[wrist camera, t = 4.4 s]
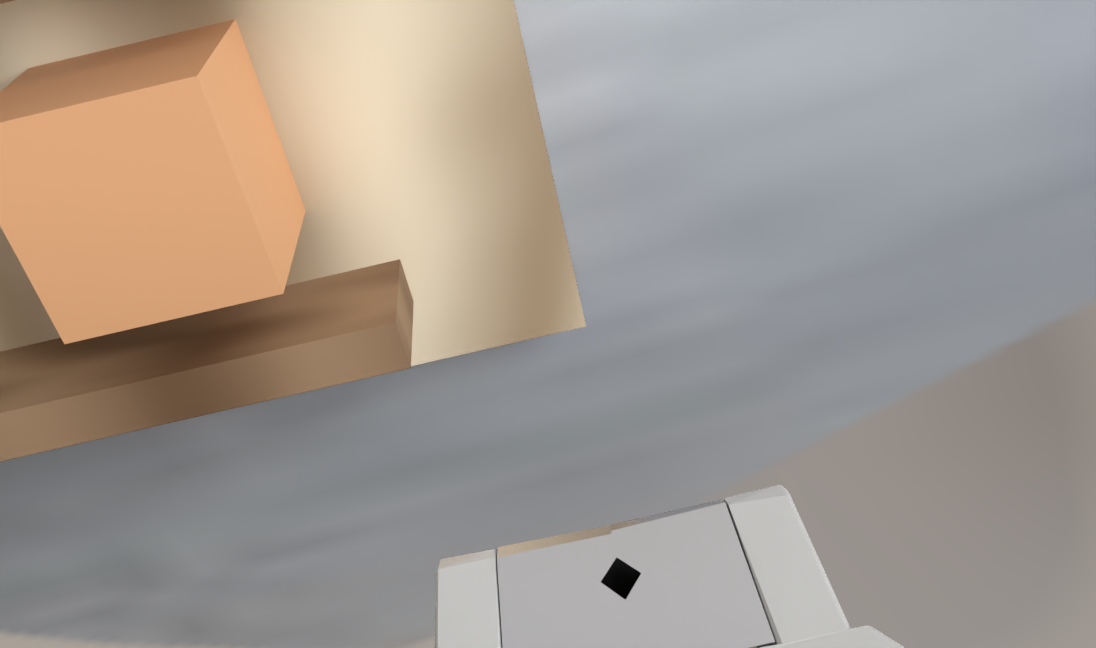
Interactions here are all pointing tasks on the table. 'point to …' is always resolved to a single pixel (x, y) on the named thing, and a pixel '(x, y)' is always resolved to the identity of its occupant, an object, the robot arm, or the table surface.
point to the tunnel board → (319, 214)
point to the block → (146, 183)
